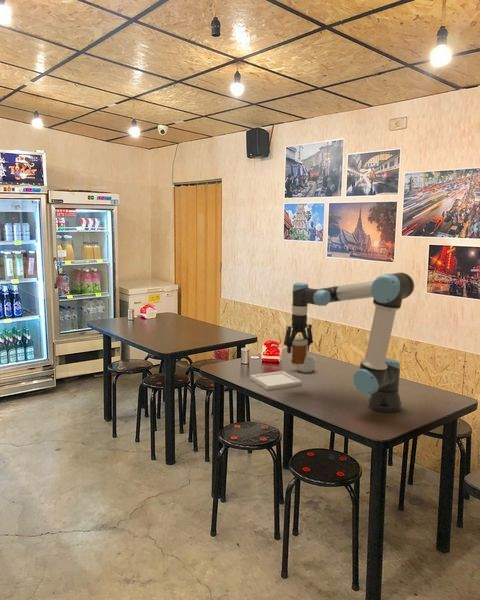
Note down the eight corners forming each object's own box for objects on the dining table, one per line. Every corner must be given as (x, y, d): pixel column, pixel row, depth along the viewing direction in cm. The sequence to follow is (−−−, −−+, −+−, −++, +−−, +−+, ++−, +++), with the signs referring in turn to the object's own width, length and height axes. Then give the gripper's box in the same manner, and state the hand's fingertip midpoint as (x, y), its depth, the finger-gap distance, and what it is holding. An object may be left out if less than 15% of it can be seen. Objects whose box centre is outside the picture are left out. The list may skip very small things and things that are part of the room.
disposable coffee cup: (284, 361, 257) (285, 338, 256) (300, 359, 261) (301, 336, 260) (294, 366, 249) (295, 342, 247) (310, 364, 253) (311, 340, 251)
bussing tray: (301, 385, 267) (301, 381, 267) (268, 390, 258) (268, 386, 258) (282, 375, 285) (282, 370, 284) (250, 379, 276) (250, 375, 276)
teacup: (314, 369, 298) (315, 355, 296) (315, 374, 287) (316, 360, 286) (290, 368, 299) (291, 354, 298) (290, 373, 288) (291, 359, 287)
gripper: (313, 311, 259) (311, 354, 263) (277, 314, 250) (275, 358, 254) (321, 313, 252) (319, 357, 256) (285, 316, 243) (283, 362, 247)
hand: (297, 358), depth 255 cm, fingers closed on disposable coffee cup, 8 cm apart
